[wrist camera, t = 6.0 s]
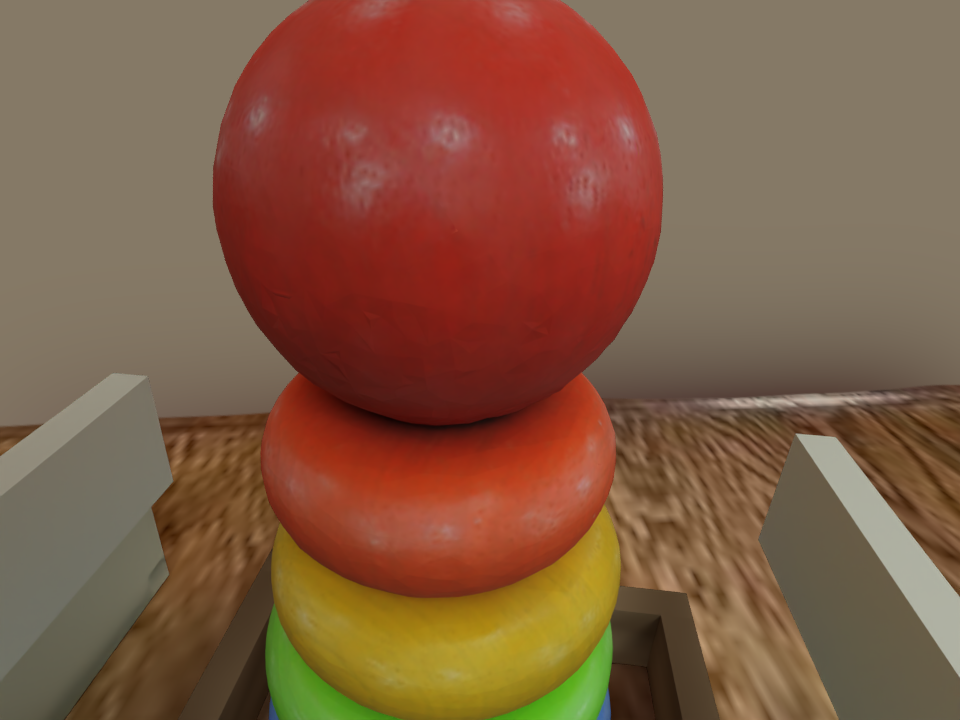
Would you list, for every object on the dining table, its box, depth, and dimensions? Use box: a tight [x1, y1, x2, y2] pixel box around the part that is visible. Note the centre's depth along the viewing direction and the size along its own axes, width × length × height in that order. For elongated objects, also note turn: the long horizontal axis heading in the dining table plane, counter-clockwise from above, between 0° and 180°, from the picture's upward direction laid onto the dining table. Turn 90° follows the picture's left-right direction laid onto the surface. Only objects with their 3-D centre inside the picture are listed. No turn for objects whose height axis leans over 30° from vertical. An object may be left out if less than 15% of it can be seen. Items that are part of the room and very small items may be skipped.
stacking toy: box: [213, 0, 663, 720], centre depth 11 cm, size 8×8×19 cm
